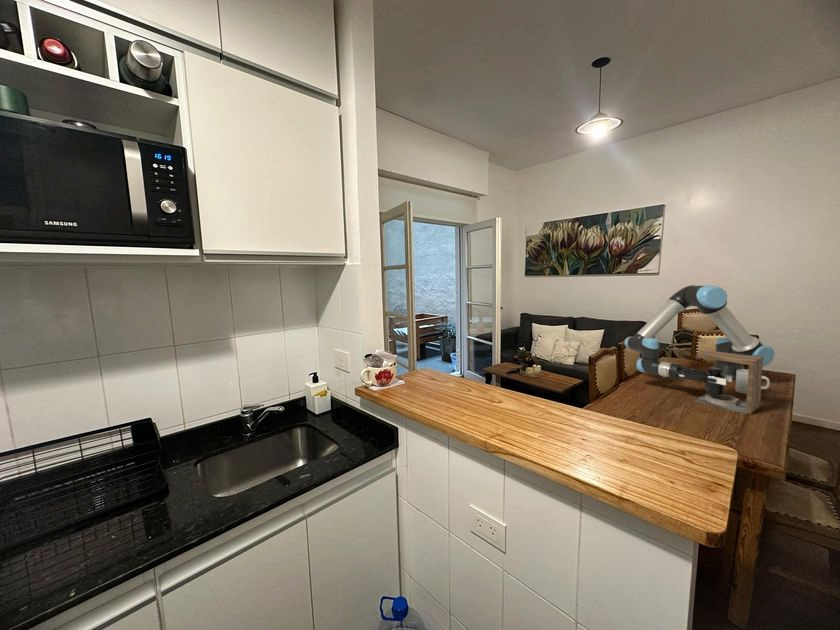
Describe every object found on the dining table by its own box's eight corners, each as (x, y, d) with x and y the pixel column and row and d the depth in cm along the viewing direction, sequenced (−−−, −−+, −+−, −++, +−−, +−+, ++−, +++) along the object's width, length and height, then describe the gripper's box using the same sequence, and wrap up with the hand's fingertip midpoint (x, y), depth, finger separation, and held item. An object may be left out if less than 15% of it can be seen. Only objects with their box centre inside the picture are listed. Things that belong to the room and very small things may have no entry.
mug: (735, 392, 167) (736, 371, 165) (735, 388, 173) (736, 368, 171) (769, 397, 158) (770, 375, 157) (768, 393, 164) (769, 371, 163)
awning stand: (705, 395, 165) (707, 350, 162) (760, 407, 148) (762, 356, 146) (695, 401, 158) (696, 354, 155) (750, 414, 141) (753, 361, 139)
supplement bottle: (716, 390, 159) (717, 366, 158) (728, 395, 152) (729, 370, 151) (701, 390, 160) (702, 366, 159) (712, 395, 153) (713, 370, 152)
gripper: (678, 373, 176) (736, 384, 156) (661, 381, 166) (720, 393, 146) (679, 360, 175) (736, 368, 156) (662, 366, 165) (721, 376, 146)
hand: (728, 380), depth 151 cm, fingers closed on supplement bottle, 7 cm apart
